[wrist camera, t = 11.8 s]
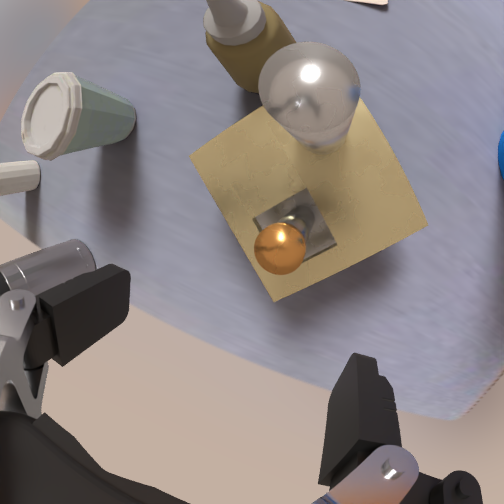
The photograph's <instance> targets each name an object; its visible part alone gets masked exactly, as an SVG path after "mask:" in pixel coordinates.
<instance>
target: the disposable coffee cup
mask: <svg viewBox="0 0 504 504" xmlns="http://www.w3.org/2000/svg"><path fill="white" fill-rule="evenodd" d="M135 121H136V114H135V108H134V107H133V106H132V105H131V103H130V102H129V101H128V100H127V99H125V98H123V97H121V96H119V95H117V94H115V93H113V92H111V91H108V90H106V89H104V88H102V87H100V86H98V85H95V84H93V83H91V82H89V81H87V80H84V79H82V78H80V77H77V76H75V75H74V74H73V73H67V72H60V73H53V74H52V75H51V76H49V77H47V78H46V79H45V80H43V81H42V82H41V83H40V84H38V85H37V86H36V88H35V89H34V91H33V92H32V94H31V96H30V97H29V99H28V101H27V102H26V106H25V109H24V112H23V116H22V120H21V134H22V140H23V143H24V146H25V148H26V150H27V152H28V153H30V154H33V155H35V156H37V157H39V158H42V159H44V160H50V161H51V160H53V159H55V158H56V157H58V156H60V155H64V154H68V153H72V152H76V151H80V150H85V149H89V148H94V147H98V146H103V145H108V144H113V143H117V142H119V141H121V140H124V139H125V138H127V136H128V135H129V134H130V133H131V131H132V130H133V128H134V124H135Z"/></svg>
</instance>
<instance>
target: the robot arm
mask: <svg viewBox="0 0 504 504" xmlns="http://www.w3.org/2000/svg"><path fill="white" fill-rule="evenodd" d="M130 280H131V276H130V273H129V271H127V270H125V269H123V268H120V267H118V266H116V265H114V264H108V265H106V266H104V267H102V268H99V269H97V270H96V269H95V263H94V260H93V257H92V255H91V253H90V251H89V249H88V248H87V247H86V245H85V244H84V243H82V242H81V241H79V240H76V239H73V240H69V241H66V242H63V243H60V244H57V245H54V246H51V247H48V248H45V249H42V250H39V251H37V252H34V253H31V254H28V255H25V256H23V257H20V258H17V259H15V260H12V261H9V262H7V263H4V264H1V265H0V504H190V503H187V502H185V501H183V500H180V499H178V498H176V497H174V496H171V495H169V494H167V493H165V492H163V491H161V490H159V489H157V488H155V487H151V486H148V485H144V484H141V483H138V482H135V481H132V480H129V479H126V478H123V477H120V476H117V475H114V474H111V473H109V472H107V471H105V470H104V469H102V468H101V467H100V466H99V465H98V463H97V462H96V461H94V459H93V458H92V457H91V456H90V455H89V454H88V453H87V451H86V450H85V449H84V448H83V447H82V446H81V444H80V443H79V442H78V441H77V440H76V438H75V437H74V436H72V435H71V434H70V433H69V432H67V431H66V430H65V429H64V428H62V427H61V426H60V425H59V424H58V423H56V422H55V421H54V420H53V419H52V418H50V417H49V416H48V415H47V414H46V413H43V414H41V406H42V399H43V393H44V388H45V383H46V378H47V373H48V362H47V361H48V360H50V359H51V358H52V359H53V360H54V361H56V362H57V363H58V364H60V365H61V366H62V367H63V366H64V365H66V364H67V363H68V362H70V361H71V360H72V359H74V358H75V357H76V356H78V355H79V354H80V353H82V352H83V351H84V350H86V349H87V348H89V347H90V346H91V345H93V344H94V343H95V342H97V341H98V340H100V339H101V338H102V337H104V336H105V335H106V334H108V333H109V332H110V331H112V330H113V329H115V328H116V327H117V326H119V325H120V324H121V323H123V322H124V320H125V319H126V317H127V315H128V311H129V298H130ZM394 401H395V398H394V392H393V388H392V386H391V385H390V383H389V382H388V380H387V379H386V377H384V376H380V375H379V373H378V367H377V361H376V359H375V358H372V357H368V356H365V355H361V354H358V353H353V354H352V355H351V357H350V358H349V360H348V362H347V364H346V366H345V368H344V370H343V372H342V374H341V375H340V377H339V379H338V381H337V383H336V384H335V386H334V388H333V390H332V393H331V396H330V399H329V403H328V412H327V422H326V431H325V439H324V447H323V454H322V461H321V468H320V474H319V481H318V484H321V485H325V486H330V489H329V492H328V493H326V494H325V495H324V496H322V497H320V498H319V499H317V500H316V501H315V502H313V503H312V504H483V501H482V495H481V489H480V485H479V483H478V482H477V480H476V479H475V477H474V476H472V475H471V474H469V473H468V472H465V471H454V472H452V473H450V474H449V475H448V476H447V477H445V478H444V479H443V480H440V479H437V478H434V477H431V476H429V475H426V474H423V473H421V472H419V467H418V463H417V461H416V460H415V458H414V456H413V455H412V454H411V453H410V452H408V451H407V450H405V449H404V448H402V444H401V436H400V429H399V422H398V415H397V412H396V410H397V409H396V403H395V402H394Z"/></svg>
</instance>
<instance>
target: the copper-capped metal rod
mask: <svg viewBox="0 0 504 504" xmlns="http://www.w3.org/2000/svg"><path fill="white" fill-rule="evenodd" d="M314 222H315V216H314V213H313V211H312V210H311V209H310V208H309V207H307V206H303V205H299V206H296V207H294V208H293V209H291V210H290V211H289V212H288V213H287V214H286V215H284V216H283V217H282V218H281V219H280V220H279V221H277V222H276V223H273V224H271V225H269V226H267V227H266V228H265V229H263V230H262V231H261V232H260V233H259V235H258V236H257V238H256V240H255V243H254V254H255V257H256V260H257V262H258V263H259V265H260V266H261V267H262V268H263V269H264V270H266V271H267V272H269V273H272V274H275V275H286V274H289V273H292V272H293V271H295V270H296V269H297V268H298V267H299V266H300V265H301V263H302V261H303V259H304V256H305V253H306V243H307V240H308V238H309V235H310V233H311V230H312V227H313V225H314Z"/></svg>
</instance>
